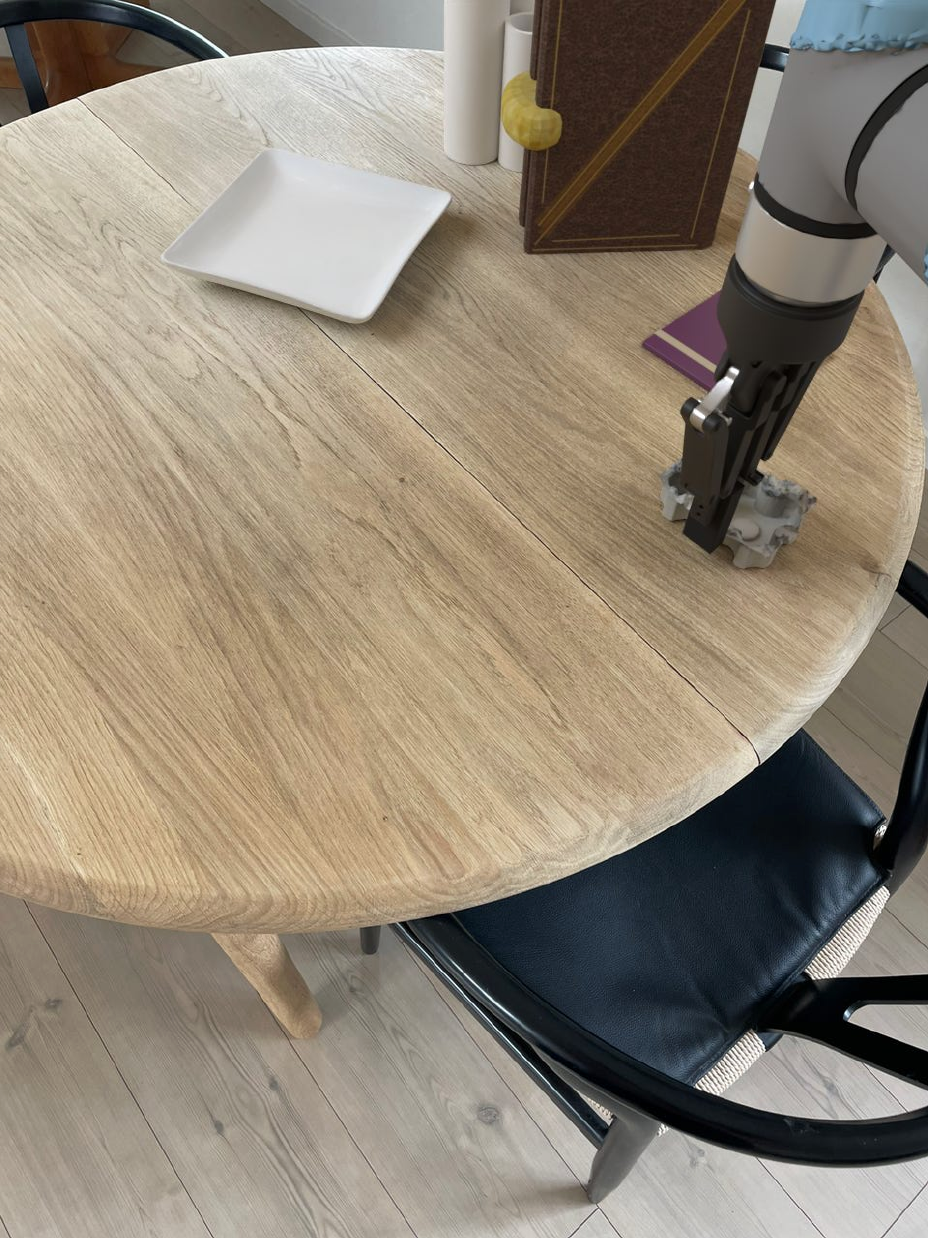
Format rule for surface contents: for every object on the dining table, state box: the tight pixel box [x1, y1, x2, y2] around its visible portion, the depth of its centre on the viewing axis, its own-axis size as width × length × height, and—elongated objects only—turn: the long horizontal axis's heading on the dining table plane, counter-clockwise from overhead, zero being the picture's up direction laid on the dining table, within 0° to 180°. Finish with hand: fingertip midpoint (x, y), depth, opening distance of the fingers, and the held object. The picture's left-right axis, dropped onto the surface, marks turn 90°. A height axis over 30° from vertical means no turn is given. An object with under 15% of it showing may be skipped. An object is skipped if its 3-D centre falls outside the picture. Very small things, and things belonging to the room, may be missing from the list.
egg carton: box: [658, 457, 818, 570], centre depth 75 cm, size 11×8×4 cm
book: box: [501, 0, 777, 255], centre depth 88 cm, size 22×8×25 cm, turn 94°
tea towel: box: [641, 290, 827, 393], centre depth 88 cm, size 12×12×1 cm
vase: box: [443, 0, 535, 173], centre depth 98 cm, size 11×7×20 cm, turn 78°
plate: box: [160, 147, 453, 325], centre depth 93 cm, size 21×21×3 cm
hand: (702, 538), depth 73 cm, fingers closed
